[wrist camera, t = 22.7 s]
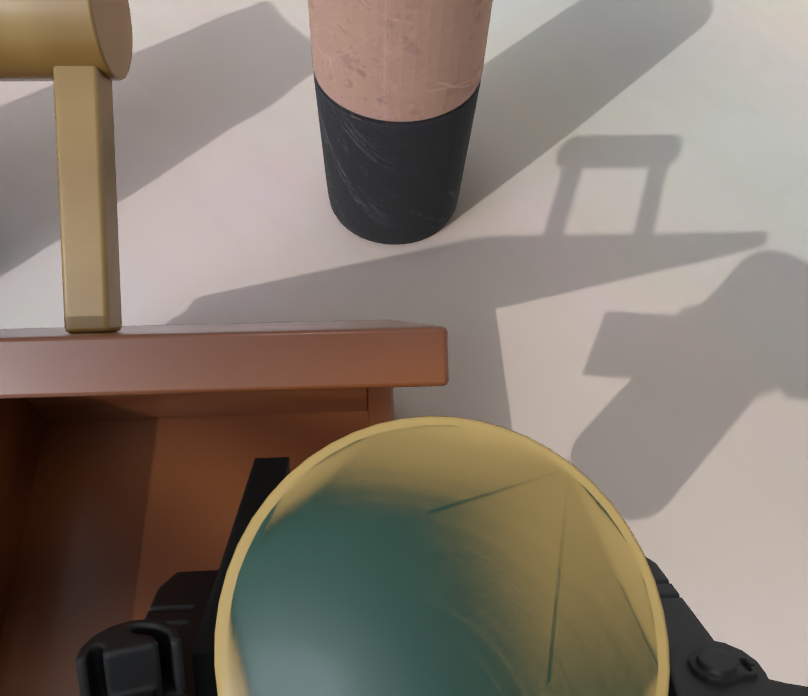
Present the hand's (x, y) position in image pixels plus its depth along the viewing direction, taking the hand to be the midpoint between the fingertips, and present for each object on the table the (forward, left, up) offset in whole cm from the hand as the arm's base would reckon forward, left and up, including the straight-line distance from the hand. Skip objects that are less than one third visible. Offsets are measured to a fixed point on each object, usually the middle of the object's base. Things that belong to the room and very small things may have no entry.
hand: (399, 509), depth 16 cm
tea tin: (-3, +2, -3) cm, 5 cm away
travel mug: (+17, -14, -15) cm, 27 cm away
